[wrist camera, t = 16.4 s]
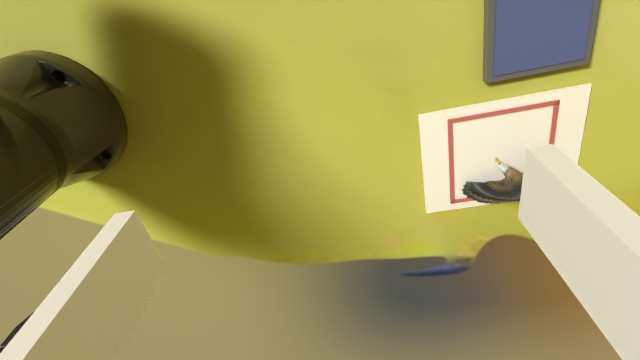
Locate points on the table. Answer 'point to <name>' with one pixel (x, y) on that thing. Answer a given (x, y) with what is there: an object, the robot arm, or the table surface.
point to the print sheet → (495, 140)
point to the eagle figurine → (496, 187)
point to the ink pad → (536, 36)
